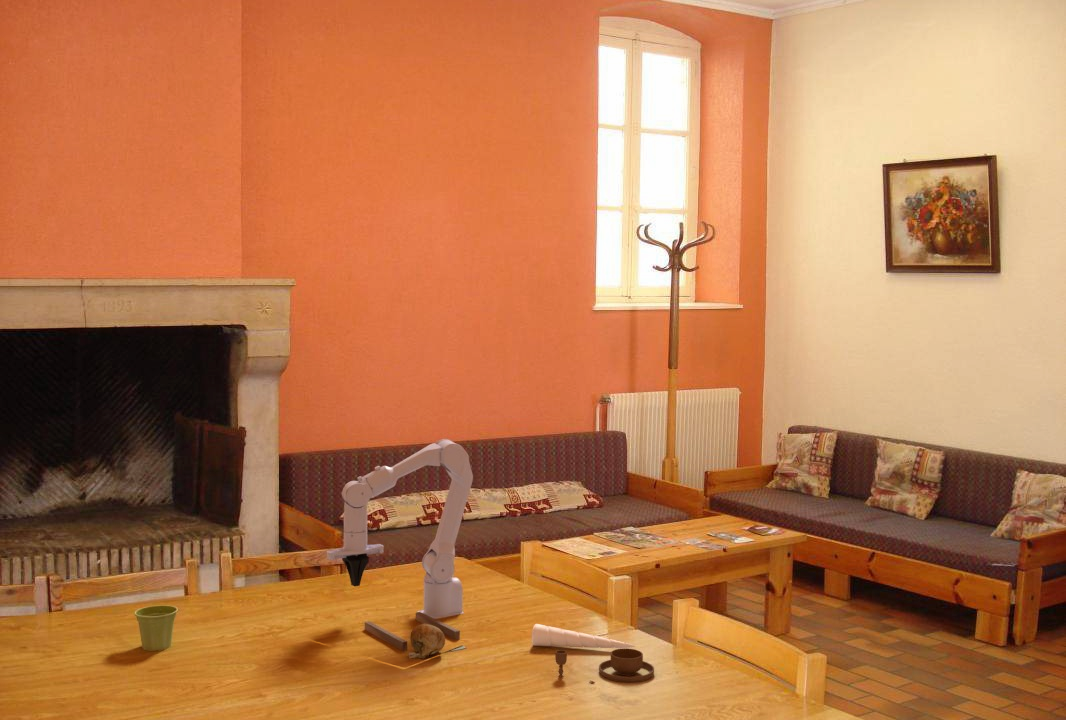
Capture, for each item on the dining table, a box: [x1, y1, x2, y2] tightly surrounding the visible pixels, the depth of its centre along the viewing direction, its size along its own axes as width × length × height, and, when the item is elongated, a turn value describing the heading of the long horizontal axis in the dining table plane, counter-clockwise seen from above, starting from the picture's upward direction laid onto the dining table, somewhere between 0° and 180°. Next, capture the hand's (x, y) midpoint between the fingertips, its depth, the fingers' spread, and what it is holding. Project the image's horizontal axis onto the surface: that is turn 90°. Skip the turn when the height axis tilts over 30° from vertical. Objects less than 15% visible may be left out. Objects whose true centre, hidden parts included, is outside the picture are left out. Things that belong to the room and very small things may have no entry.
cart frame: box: [364, 611, 461, 652], centre depth 259 cm, size 15×18×2 cm
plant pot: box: [134, 604, 179, 652], centre depth 249 cm, size 9×9×9 cm
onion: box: [408, 623, 446, 659], centre depth 245 cm, size 8×8×8 cm
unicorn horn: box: [531, 623, 636, 649], centre depth 250 cm, size 5×24×5 cm
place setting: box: [554, 648, 655, 685], centre depth 237 cm, size 18×20×6 cm
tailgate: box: [440, 645, 467, 655], centre depth 249 cm, size 1×12×5 cm
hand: (355, 585), depth 269 cm, fingers closed
